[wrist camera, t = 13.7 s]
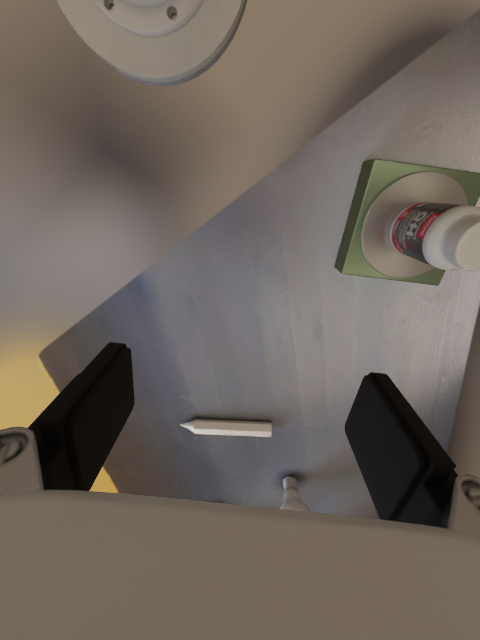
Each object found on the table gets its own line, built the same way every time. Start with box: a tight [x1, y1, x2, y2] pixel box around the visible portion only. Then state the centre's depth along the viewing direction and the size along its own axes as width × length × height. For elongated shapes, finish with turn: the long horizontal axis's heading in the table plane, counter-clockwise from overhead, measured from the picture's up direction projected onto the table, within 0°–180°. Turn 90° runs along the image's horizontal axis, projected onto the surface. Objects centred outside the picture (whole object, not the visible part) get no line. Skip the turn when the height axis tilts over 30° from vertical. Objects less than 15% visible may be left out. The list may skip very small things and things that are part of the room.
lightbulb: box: [279, 477, 311, 512], centre depth 49 cm, size 6×6×11 cm
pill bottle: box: [390, 202, 480, 271], centre depth 25 cm, size 5×5×10 cm
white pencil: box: [180, 419, 272, 437], centre depth 47 cm, size 3×2×16 cm
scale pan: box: [359, 171, 468, 278], centre depth 30 cm, size 11×11×1 cm
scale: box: [335, 159, 480, 285], centre depth 31 cm, size 12×12×3 cm
